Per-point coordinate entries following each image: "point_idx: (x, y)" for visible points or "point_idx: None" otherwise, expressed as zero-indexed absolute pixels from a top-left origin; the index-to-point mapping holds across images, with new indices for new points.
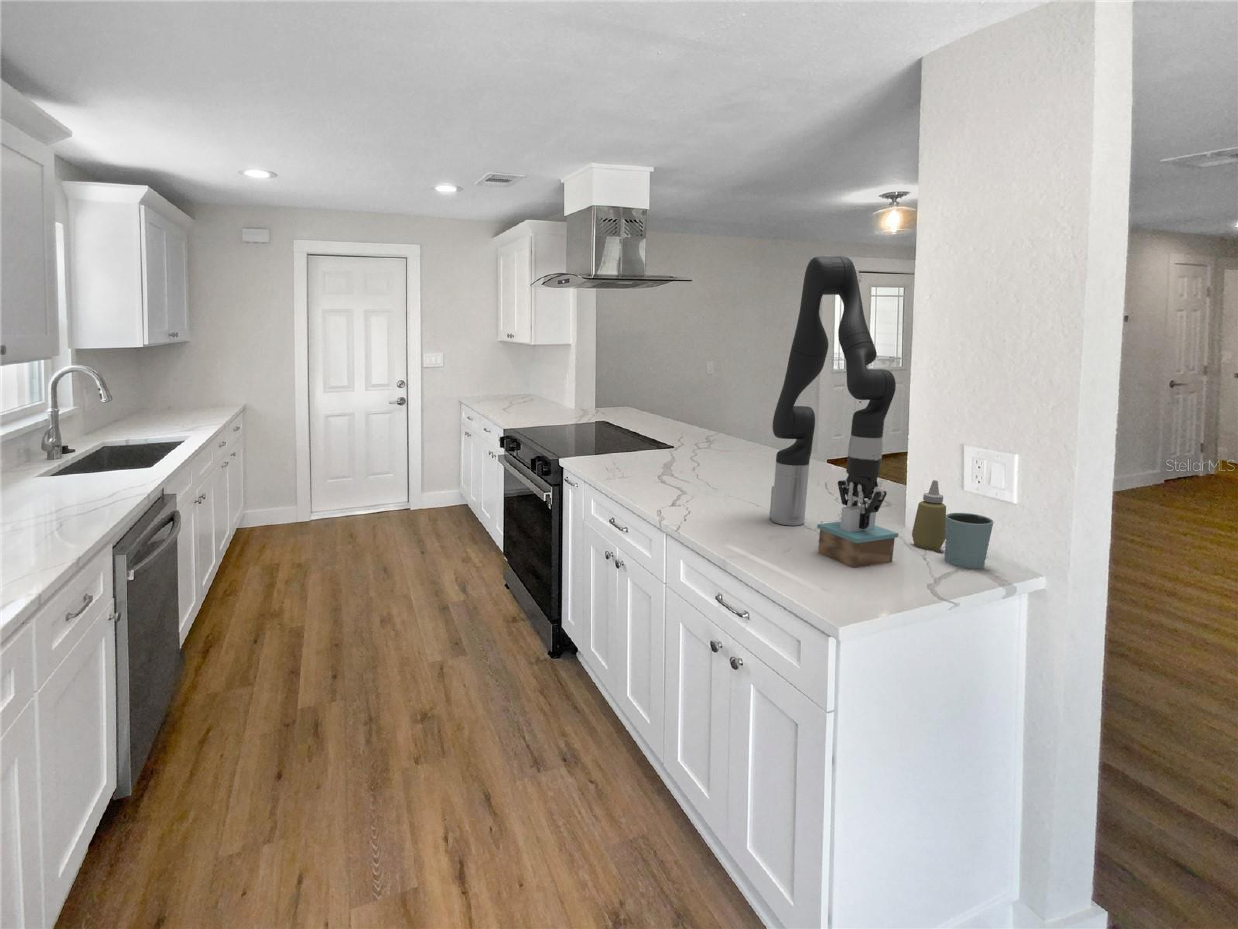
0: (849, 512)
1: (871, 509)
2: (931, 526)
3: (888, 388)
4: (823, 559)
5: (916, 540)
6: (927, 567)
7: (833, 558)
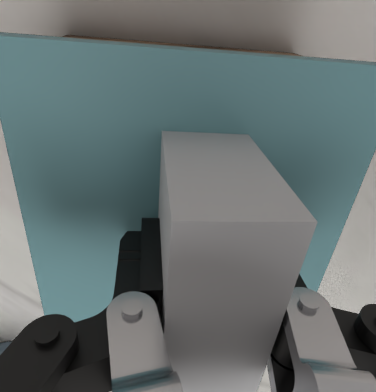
0: (196, 205)
1: (2, 359)
2: None
3: None
4: (254, 44)
5: None
6: (40, 301)
7: (202, 47)
